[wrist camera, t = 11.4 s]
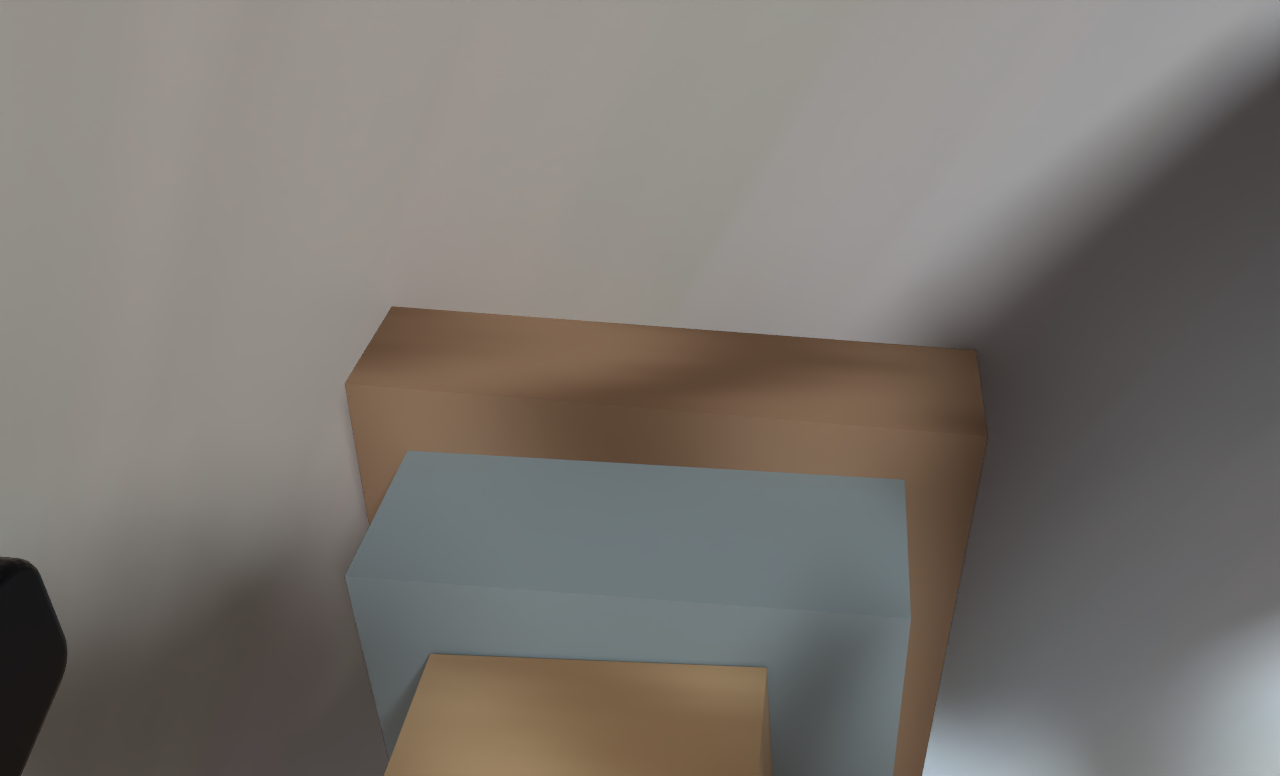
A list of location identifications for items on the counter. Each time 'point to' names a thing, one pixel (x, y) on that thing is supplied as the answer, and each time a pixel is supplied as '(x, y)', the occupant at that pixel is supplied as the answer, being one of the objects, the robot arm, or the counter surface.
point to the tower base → (696, 426)
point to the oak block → (584, 719)
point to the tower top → (649, 585)
